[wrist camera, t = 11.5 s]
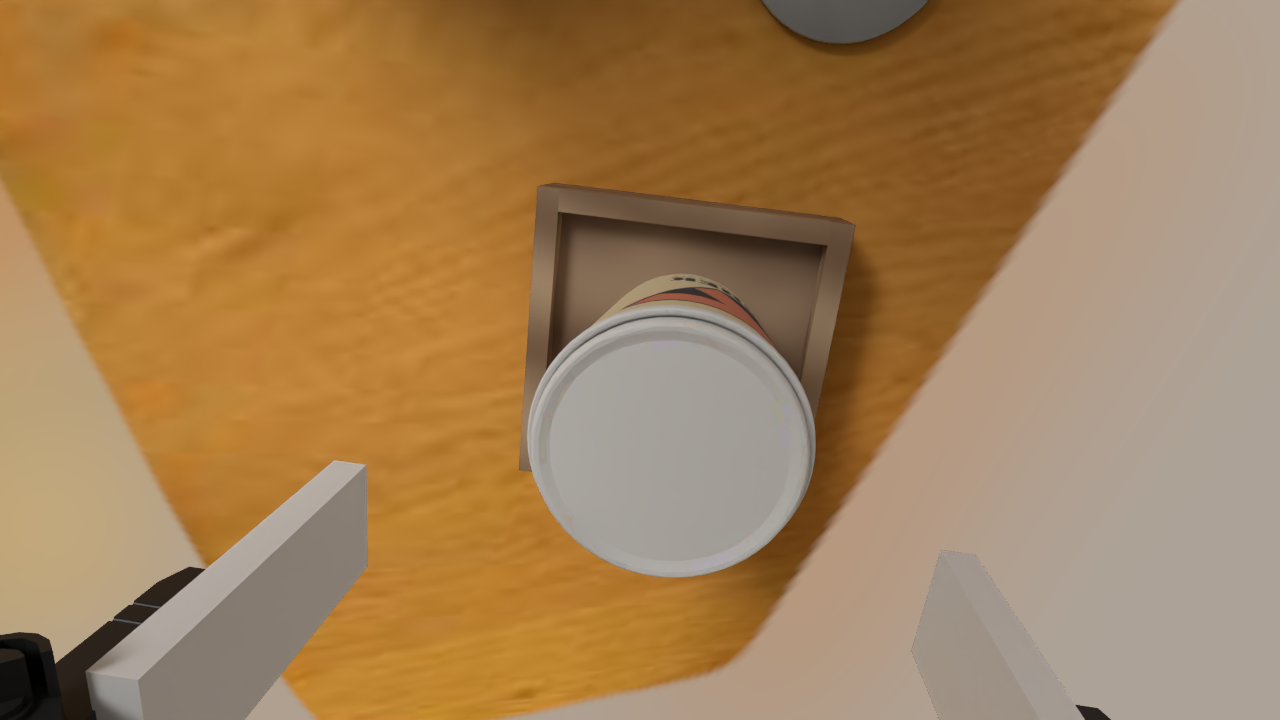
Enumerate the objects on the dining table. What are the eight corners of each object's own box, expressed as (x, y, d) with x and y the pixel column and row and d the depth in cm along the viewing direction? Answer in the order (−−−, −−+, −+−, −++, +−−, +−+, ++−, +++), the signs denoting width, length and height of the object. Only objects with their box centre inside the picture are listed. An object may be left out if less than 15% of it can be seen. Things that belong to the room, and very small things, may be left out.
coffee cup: (821, 338, 32) (885, 441, 20) (695, 476, 34) (689, 635, 23) (665, 213, 31) (640, 248, 19) (548, 365, 33) (465, 474, 22)
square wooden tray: (554, 183, 33) (537, 185, 30) (840, 218, 33) (855, 225, 29) (535, 442, 37) (518, 469, 34) (788, 478, 37) (796, 510, 33)
